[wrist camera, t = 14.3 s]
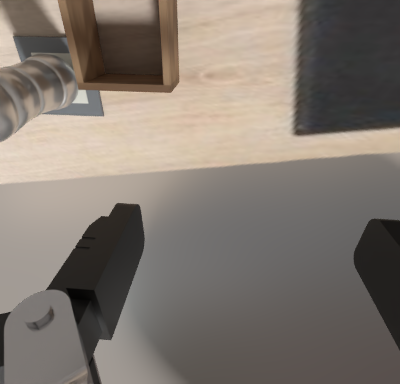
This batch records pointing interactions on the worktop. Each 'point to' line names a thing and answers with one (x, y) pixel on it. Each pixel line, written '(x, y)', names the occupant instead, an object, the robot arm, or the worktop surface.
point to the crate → (92, 56)
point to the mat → (58, 46)
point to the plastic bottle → (34, 90)
